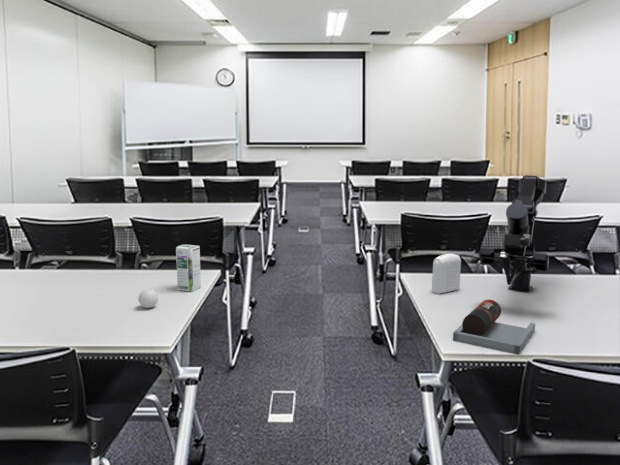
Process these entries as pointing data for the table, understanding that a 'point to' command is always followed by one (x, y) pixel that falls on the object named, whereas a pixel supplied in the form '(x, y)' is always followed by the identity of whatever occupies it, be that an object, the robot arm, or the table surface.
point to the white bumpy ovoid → (148, 298)
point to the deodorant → (481, 317)
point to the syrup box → (188, 267)
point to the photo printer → (446, 273)
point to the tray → (498, 337)
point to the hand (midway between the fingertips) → (508, 284)
